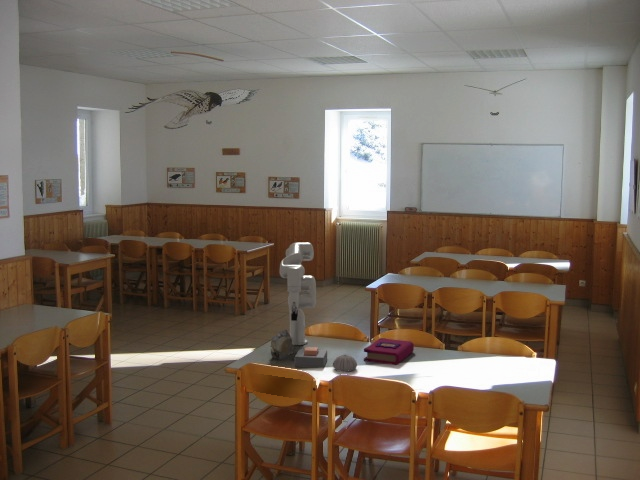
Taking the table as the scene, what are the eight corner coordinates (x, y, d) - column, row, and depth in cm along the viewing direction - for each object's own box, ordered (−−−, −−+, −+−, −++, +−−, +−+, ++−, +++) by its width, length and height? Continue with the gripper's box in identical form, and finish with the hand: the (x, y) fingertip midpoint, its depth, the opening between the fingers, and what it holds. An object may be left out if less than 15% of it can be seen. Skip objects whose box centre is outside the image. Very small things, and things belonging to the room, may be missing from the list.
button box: (299, 358, 385) (299, 348, 384) (327, 359, 382) (327, 349, 382) (294, 366, 369) (294, 356, 368) (323, 367, 367) (323, 357, 366)
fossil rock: (281, 367, 380) (277, 343, 376) (266, 366, 384) (261, 342, 379) (296, 351, 398) (292, 327, 394) (281, 350, 402) (277, 327, 398)
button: (306, 352, 379) (306, 346, 379) (318, 352, 378) (318, 347, 378) (304, 355, 372) (304, 350, 372) (316, 355, 371) (316, 350, 371)
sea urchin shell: (336, 374, 355) (336, 359, 354) (329, 366, 368) (329, 352, 367) (360, 372, 358) (360, 357, 357) (352, 364, 371) (352, 350, 370)
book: (413, 353, 395) (413, 340, 394) (398, 366, 369) (398, 352, 369) (380, 349, 404) (380, 336, 403) (362, 361, 379) (362, 348, 378)
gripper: (288, 286, 384) (288, 315, 386) (286, 291, 367) (287, 322, 369) (301, 286, 384) (301, 315, 386) (300, 291, 367) (300, 321, 369)
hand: (294, 318), depth 377 cm, fingers open, 9 cm apart
